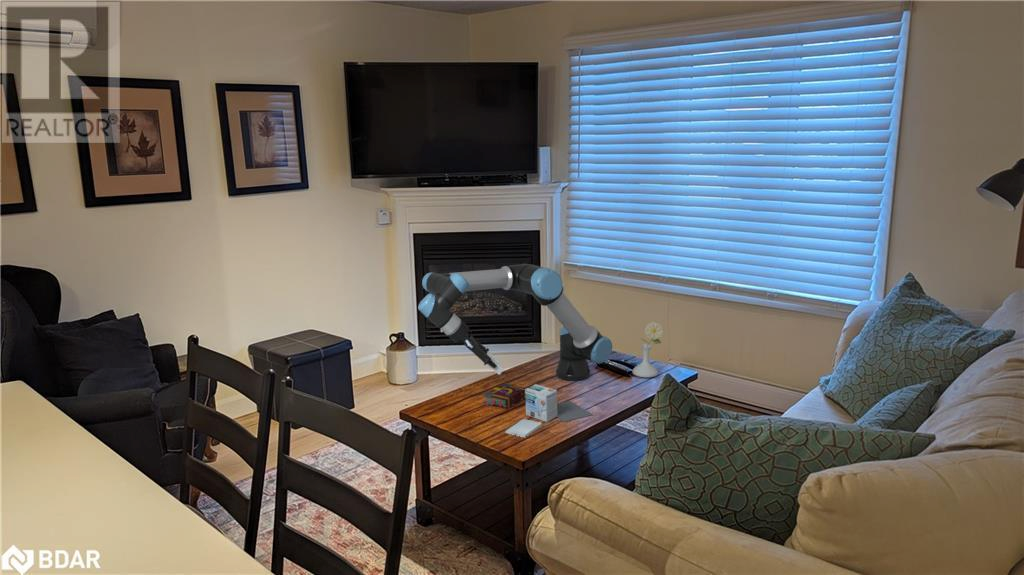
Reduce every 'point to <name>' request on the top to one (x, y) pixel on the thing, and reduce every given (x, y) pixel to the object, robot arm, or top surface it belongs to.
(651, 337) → the flower in vase
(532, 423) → the hard drive
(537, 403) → the light bulb box
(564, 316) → the robot arm
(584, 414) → the felt mat
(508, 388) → the decorative book
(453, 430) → the top surface
